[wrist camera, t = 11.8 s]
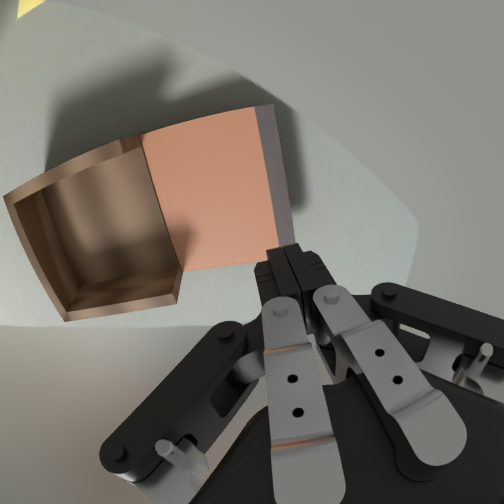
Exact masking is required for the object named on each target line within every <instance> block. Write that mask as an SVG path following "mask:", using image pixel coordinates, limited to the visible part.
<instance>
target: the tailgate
mask: <svg viewBox="0 0 504 504" xmlns="http://www.w3.org/2000/svg"><path fill="white" fill-rule="evenodd" d="M140 139H141V143H142V146H143V150H144V154H145V157H146V161H147V165H148V168H149V172H150V175H151V178H152V182H153V185H154V189H155V192H156V195H157V198H158V202H159V205H160V208H161V211H162V214H163V217H164V220H165V223H166V226H167V229H168V232H169V235H170V238H171V241H172V244H173V247H174V250H175V253H176V255H177V258H178V261H179V264H180V266H181V269H182V272H183V271H191V270H198V269H206V268H213V267H221V266H228V265H235V264H243V263H250V262H257V261H264V260H267V255H266V250H268V249H272V248H277V247H282V246H286V245H290V244H295V237H294V229H293V222H292V214H291V207H290V200H289V193H288V187H287V180H286V174H285V167H284V161H283V155H282V149H281V143H280V137H279V132H278V126H277V121H276V115H275V110H274V104H266V105H260V106H254V107H248V108H243V109H237V110H232V111H228V112H223V113H218V114H214V115H210V116H205V117H201V118H197V119H193V120H189V121H186V122H182V123H178V124H175V125H171V126H168V127H165V128H161V129H158V130H155V131H152V132H149V133H146V134H143V135H140Z"/></svg>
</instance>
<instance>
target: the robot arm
mask: <svg viewBox="0 0 504 504" xmlns="http://www.w3.org/2000/svg"><path fill="white" fill-rule="evenodd" d="M266 255H267V261H263V262H258V263H257V264H256V266H255V269H254V273H255V277H256V282H257V286H258V291H259V295H260V300H261V304H262V310H261V313H260V314H259V316H258V317H257V318H256V319H254V320H253V321H251V322H250V323H248V324H245V325H242V324H240V323H238V322H235V321H224V322H221V323H218V324H217V325H215V326H213V327H212V328H211V329H210V330H209V331H208V332H207V334H206V335H205V336H204V337H203V338H202V339H201V340H200V341H199V342H198V343H197V344H196V345H195V347H194V348H193V349H192V350H191V351H190V352H189V353H188V354H187V355H186V356H185V357H184V358H183V360H182V361H181V362H180V363H179V364H178V365H177V366H176V367H175V368H174V369H173V370H172V371H171V372H170V373H169V375H168V376H167V377H166V378H165V379H164V380H163V381H162V382H161V383H160V384H159V385H158V386H157V387H156V388H155V389H154V390H153V391H152V393H151V394H150V395H149V396H148V397H147V398H146V399H145V400H144V401H143V402H142V403H141V404H140V405H139V406H138V407H137V408H136V409H135V410H134V411H133V412H132V413H131V415H130V416H129V417H128V418H127V419H126V420H125V421H124V422H123V423H122V424H121V425H120V426H119V427H118V428H117V429H116V430H115V431H114V432H113V433H112V434H111V435H110V436H109V437H108V438H107V439H106V440H105V441H104V443H103V444H102V446H101V448H100V453H99V456H100V461H101V464H102V465H103V467H104V468H105V469H106V470H107V471H109V472H111V473H113V474H115V475H116V476H118V477H120V478H121V479H122V480H124V481H126V482H128V483H130V484H133V485H135V486H136V487H137V488H138V489H140V490H141V491H142V492H143V493H144V494H145V495H147V496H148V497H149V498H150V499H151V500H152V501H154V502H155V503H156V504H504V320H503V319H500V318H497V317H494V316H491V315H488V314H485V313H482V312H480V311H477V310H473V309H471V308H467V307H465V306H462V305H459V304H456V303H453V302H450V301H447V300H444V299H441V298H438V297H435V296H432V295H429V294H426V293H423V292H419V291H417V290H413V289H410V288H407V287H404V286H401V285H398V284H395V283H389V282H386V283H381V284H378V285H376V286H375V287H374V288H373V289H372V292H371V295H352V294H350V293H349V291H348V290H347V289H346V288H344V287H342V286H339V285H337V284H336V282H335V281H334V279H333V277H332V276H331V274H330V273H329V271H328V269H327V268H326V266H325V265H324V263H323V261H322V260H321V258H320V257H319V255H317V254H316V253H314V252H312V251H307V252H303V251H302V250H301V248H300V246H299V244H298V243H295V244H290V245H286V246H282V247H277V248H272V249H268V250H266ZM400 324H404V325H407V326H409V327H412V328H415V329H417V330H420V331H423V332H425V333H427V334H428V335H429V336H430V339H426V338H423V337H421V336H418V335H415V334H413V333H410V332H407V331H405V330H402V329H400ZM309 334H314V336H315V342H316V349H317V351H318V353H319V355H320V357H321V359H322V361H323V364H324V366H325V368H326V370H327V372H328V374H329V376H330V378H331V380H332V382H333V385H322V383H321V379H320V376H319V372H318V368H317V363H316V359H315V355H314V351H313V348H312V344H311V343H310V342H309V341H308V337H307V335H309ZM264 375H266V376H265V377H266V388H267V399H268V405H267V406H266V407H264V408H263V409H262V410H260V411H258V412H257V413H256V414H255V415H254V416H253V417H252V418H251V419H250V420H249V421H248V422H247V424H246V425H245V427H244V428H243V430H242V431H241V433H240V434H239V436H238V437H237V439H236V440H235V442H234V443H233V445H232V446H231V447H230V449H229V450H228V452H227V453H226V455H225V456H224V457H223V459H222V460H221V462H220V463H219V464H218V466H217V467H216V468H215V470H214V471H213V473H212V474H211V475H210V476H209V478H208V479H207V480H206V482H205V483H204V484H203V480H204V477H205V476H206V474H207V472H208V469H209V462H208V459H207V457H206V456H205V455H204V454H205V453H206V452H207V451H208V449H209V448H210V447H211V446H212V444H213V443H214V442H215V441H216V439H217V438H218V436H219V435H220V434H221V433H222V432H223V430H224V429H225V428H226V426H227V425H228V424H229V422H230V421H231V420H232V418H233V417H234V416H235V414H236V413H237V412H238V410H239V409H240V407H241V406H242V405H243V403H244V402H245V401H246V399H247V398H248V396H249V395H250V394H251V392H252V391H253V389H254V388H255V387H256V385H257V383H258V381H259V378H260V377H262V376H264ZM202 484H203V486H202Z"/></svg>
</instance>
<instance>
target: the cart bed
mask: <svg viewBox="0 0 504 504" xmlns="http://www.w3.org/2000/svg"><path fill="white" fill-rule="evenodd" d="M146 133H147V132H143V133H139V134H135V135H132V136H128V137H125V138H122V139H118V140H116V141H113V142H111V143H108V144H106V145H103V146H101V147H98V148H96V149H93V150H91V151H89V152H86V153H84V154H82V155H79V156H77V157H75V158H73V159H71V160H69V161H66V162H64V163H62V164H60V165H58V166H56V167H54V168H52V169H50V170H48V171H46V172H44V173H43V174H41V175H39V176H37V177H35V178H33V179H31V180H30V181H28V182H26V183H24V184H23V185H21V186H19V187H17V188H16V189H14V190H12V191H11V192H9V193H8V194H6V195H4V196H3V198H4V201H5V204H6V207H7V209H8V212H9V215H10V217H11V220H12V222H13V225H14V227H15V230H16V232H17V235H18V237H19V239H20V241H21V244H22V246H23V248H24V250H25V252H26V254H27V257H28V259H29V261H30V263H31V265H32V267H33V269H34V271H35V272H36V274H37V276H38V278H39V280H40V282H41V284H42V285H43V287H44V289H45V291H46V293H47V294H48V296H49V298H50V299H51V301H52V303H53V304H54V306H55V308H56V309H57V311H58V312H59V314H60V316H61V317H62V319H63V320H64V322H67V321H74V320H81V319H88V318H95V317H101V316H108V315H114V314H121V313H127V312H133V311H139V310H145V309H151V308H156V307H162V306H168V305H173V304H177V300H178V295H179V289H180V284H181V279H182V274H183V272H182V269H181V266H180V264H179V261H178V258H177V255H176V253H175V250H174V247H173V244H172V241H171V238H170V235H169V232H168V229H167V226H166V223H165V220H164V217H163V214H162V211H161V208H160V205H159V202H158V198H157V195H156V192H155V189H154V185H153V182H152V178H151V175H150V172H149V168H148V165H147V161H146V157H145V154H144V150H143V146H142V143H141V139H140V135H143V134H146Z"/></svg>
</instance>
